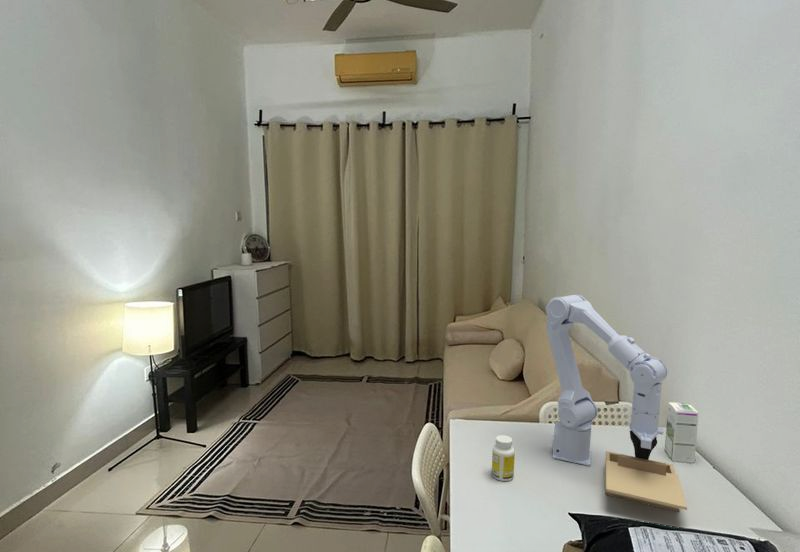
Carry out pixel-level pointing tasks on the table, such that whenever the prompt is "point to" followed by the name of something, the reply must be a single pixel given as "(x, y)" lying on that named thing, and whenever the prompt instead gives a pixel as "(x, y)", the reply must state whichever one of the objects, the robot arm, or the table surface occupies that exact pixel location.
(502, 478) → the supplement bottle
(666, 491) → the lid
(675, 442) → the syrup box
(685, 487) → the table surface
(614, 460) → the box
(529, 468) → the table surface
